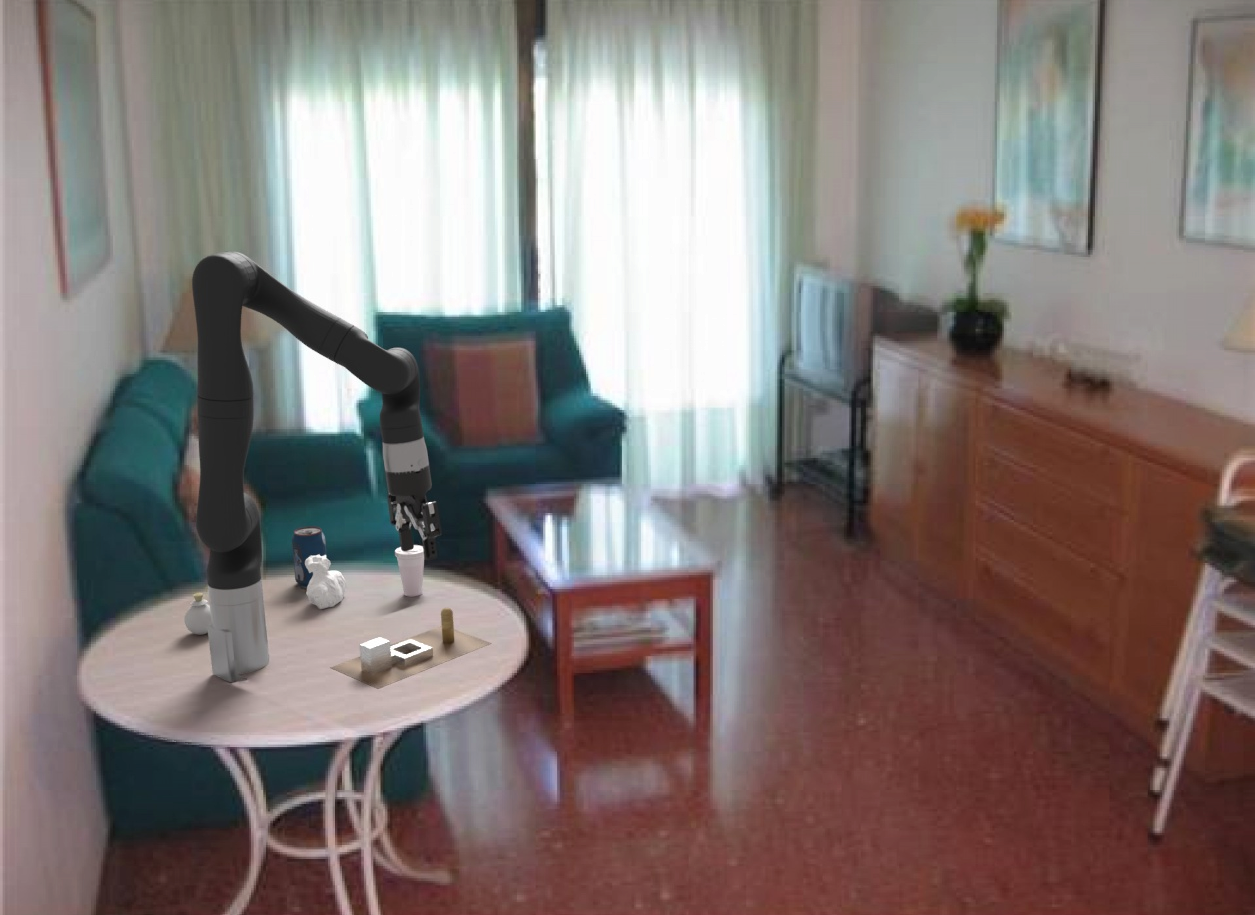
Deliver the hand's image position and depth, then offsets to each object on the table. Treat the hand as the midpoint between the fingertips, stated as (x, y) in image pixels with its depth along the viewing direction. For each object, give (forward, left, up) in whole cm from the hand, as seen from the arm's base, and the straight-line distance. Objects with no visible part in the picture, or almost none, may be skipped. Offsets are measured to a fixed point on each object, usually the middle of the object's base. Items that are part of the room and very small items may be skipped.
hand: (419, 554), depth 226 cm
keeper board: (+1, +6, -22) cm, 23 cm away
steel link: (-3, +6, -21) cm, 22 cm away
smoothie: (+24, +35, -23) cm, 48 cm away
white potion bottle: (-16, +49, -23) cm, 56 cm away
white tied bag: (+9, +45, -23) cm, 51 cm away
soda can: (+14, +57, -23) cm, 63 cm away
